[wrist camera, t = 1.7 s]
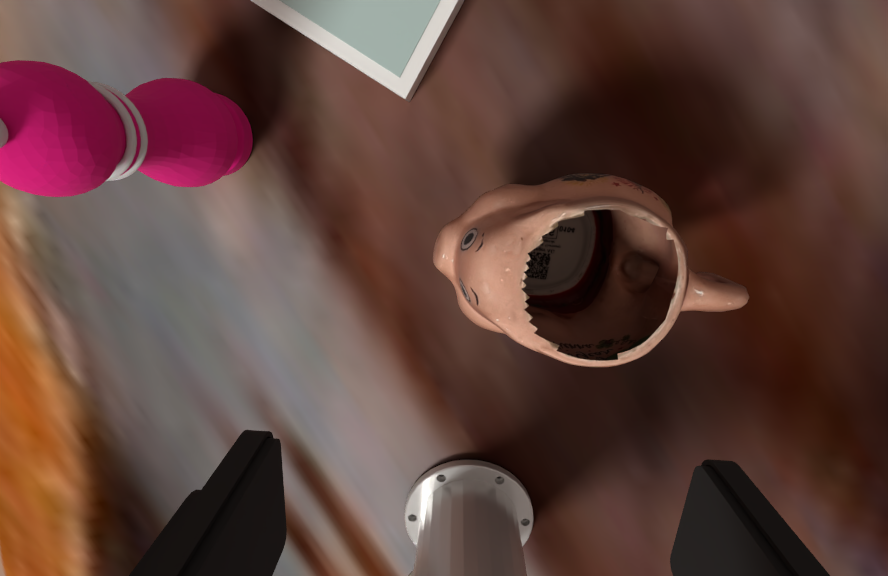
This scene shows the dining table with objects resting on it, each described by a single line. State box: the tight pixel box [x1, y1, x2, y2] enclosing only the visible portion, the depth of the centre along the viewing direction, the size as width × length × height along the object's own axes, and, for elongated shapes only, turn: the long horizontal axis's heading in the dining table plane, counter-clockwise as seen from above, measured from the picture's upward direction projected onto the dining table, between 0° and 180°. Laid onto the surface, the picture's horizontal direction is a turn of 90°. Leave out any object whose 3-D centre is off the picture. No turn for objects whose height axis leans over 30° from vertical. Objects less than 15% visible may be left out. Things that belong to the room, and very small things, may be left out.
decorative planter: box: [433, 173, 749, 367], centre depth 32 cm, size 20×12×14 cm, turn 88°
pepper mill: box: [0, 60, 253, 197], centre depth 28 cm, size 7×7×20 cm
